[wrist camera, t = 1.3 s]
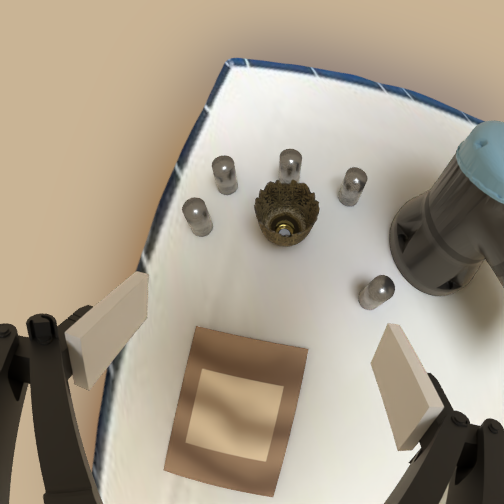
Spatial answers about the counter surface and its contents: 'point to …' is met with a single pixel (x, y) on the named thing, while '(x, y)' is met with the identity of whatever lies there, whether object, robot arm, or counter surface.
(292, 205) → the cup
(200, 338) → the walnut pad
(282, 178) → the spacer field
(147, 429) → the counter surface
